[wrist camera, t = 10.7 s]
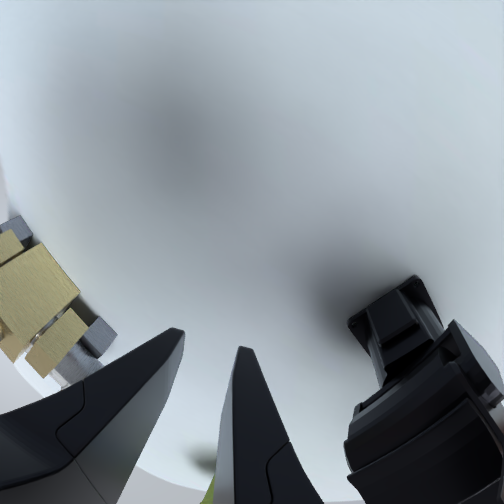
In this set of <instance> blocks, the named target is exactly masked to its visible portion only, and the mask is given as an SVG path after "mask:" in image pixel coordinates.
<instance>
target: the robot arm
mask: <svg viewBox="0 0 504 504" xmlns="http://www.w3.org/2000/svg"><path fill="white" fill-rule="evenodd" d="M417 281H418V282H417ZM415 282H417V284H416V285H414V283H415ZM352 323H356V324H355V325H352ZM347 325H348V328H349V329H350V331H351V332H352V333H353V335H354V336H355V337H356V339H357V340H358V341H359V343H360V344H361V345H362V347H363V348H364V349H365V350H366V352H367V353H368V354H369V356H370V357H371V358H372V361H373V365H374V368H375V371H376V375H377V379H378V382H379V386H380V390H379V391H377V392H376V393H375V394H374V395H372V396H371V397H370V398H368V399H367V400H366V401H364V402H361V403H359V404H358V405H357V406H355V409H354V414H353V419H352V421H351V423H350V425H349V431H348V439H347V440H345V441H344V452H345V457H346V460H347V464H348V467H349V469H350V471H351V472H352V473H351V474H349V475H348V476H347V480H348V481H349V482H350V483H351V484H352V485H353V486H354V487H355V488H356V489H357V490H358V492H359V493H360V495H361V496H362V498H363V499H364V501H365V503H366V504H504V407H503V405H502V404H501V401H502V400H503V399H504V384H503V381H502V378H501V375H500V372H499V369H498V367H497V366H496V364H495V363H494V362H493V360H492V359H491V357H490V356H489V355H488V353H487V352H486V351H485V349H484V348H483V347H482V346H481V345H480V344H479V343H478V342H477V341H476V340H475V339H474V338H473V337H472V336H471V335H470V334H469V333H468V332H467V331H466V330H465V329H464V328H463V327H462V326H461V325H460V324H459V323H458V322H457V321H456V320H454V319H453V320H452V322H451V323H450V324H449V325H448V328H447V329H446V330H444V327H443V325H442V322H441V320H440V318H439V316H438V313H437V311H436V309H435V307H434V305H433V302H432V300H431V298H430V296H429V294H428V292H427V290H426V288H425V286H424V284H423V282H422V280H421V279H420V278H419V277H418V276H414V277H412V278H410V279H409V280H408V281H406V282H405V283H403V284H402V285H400V286H399V287H397V288H396V289H394V290H392V291H391V292H389V293H388V294H386V295H385V296H383V297H382V298H380V299H379V300H377V301H376V302H374V303H373V304H371V305H369V306H368V307H367V308H366V309H364V310H363V311H361V312H359V313H358V314H356V315H354V316H353V317H351V318H350V319H349V320H348V322H347ZM184 341H185V332H184V331H183V330H180V329H177V328H169V329H168V330H166V331H164V332H163V333H161V334H159V335H157V336H156V337H154V338H152V339H151V340H149V341H147V342H146V343H144V344H142V345H140V346H139V347H137V348H135V349H134V350H132V351H130V352H129V353H127V354H125V355H123V356H122V357H120V358H118V359H116V360H115V361H113V362H111V363H110V364H108V365H106V366H104V367H103V368H101V369H99V370H97V371H96V372H94V373H92V374H90V375H89V376H87V377H85V378H84V379H83V380H79V381H78V382H76V383H74V384H72V385H71V386H69V387H67V388H65V389H63V390H61V391H59V392H57V393H55V394H53V395H50V396H48V397H46V398H43V399H41V400H39V401H36V402H34V403H31V404H29V405H26V406H23V407H21V408H18V409H15V410H13V411H10V412H7V413H4V414H1V415H0V504H116V503H117V501H118V499H119V497H120V495H121V493H122V491H123V489H124V487H125V485H126V483H127V481H128V479H129V477H130V475H131V473H132V470H133V468H134V466H135V464H136V462H137V460H138V458H139V456H140V454H141V452H142V450H143V448H144V446H145V444H146V442H147V440H148V438H149V436H150V434H151V432H152V430H153V428H154V426H155V424H156V422H157V420H158V418H159V416H160V414H161V412H162V410H163V408H164V406H165V404H166V402H167V399H168V397H169V394H170V391H171V388H172V385H173V382H174V379H175V377H176V374H177V371H178V368H179V365H180V362H181V359H182V356H183V351H184ZM213 504H324V502H323V501H322V499H321V498H320V496H319V495H318V493H317V492H316V490H315V488H314V487H313V485H312V484H311V482H310V480H309V479H308V477H307V475H306V473H305V472H304V470H303V468H302V466H301V464H300V462H299V460H298V458H297V455H296V453H295V451H294V449H293V446H292V444H291V442H289V437H288V435H287V432H286V430H285V428H284V425H283V423H282V420H281V418H280V415H279V413H278V411H277V408H276V406H275V403H274V401H273V398H272V396H271V393H270V391H269V388H268V386H267V383H266V381H265V378H264V376H263V373H262V371H261V368H260V366H259V363H258V361H257V358H256V355H255V353H254V351H253V349H251V348H247V347H243V346H239V347H238V350H237V354H236V357H235V361H234V365H233V369H232V373H231V377H230V381H229V385H228V389H227V393H226V397H225V401H224V405H223V409H222V414H221V421H220V431H219V441H218V451H217V462H216V472H215V483H214V494H213Z"/></svg>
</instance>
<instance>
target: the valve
mask: <svg viewBox="0 0 504 504" xmlns="http://www.w3.org/2000/svg"><path fill="white" fill-rule="evenodd" d="M32 235H33V233H32V232H31V231H30V229H29V228H28V226H27V225H26V223H25V222H24V220H23V219H22V217H21V216H18V217H16V218H14V219H12V220H9V221H7V222H5V223H3V224H1V225H0V348H1V349H2V351H3V352H4V353H5V354H6V355H7V357H8V358H9V359H10V360H11V361H12V362H13V364H14V363H15V361H16V360H17V359H18V358H19V357H20V356H21V355H22V354H23V353H24V352H25V351H26V350H27V349H28V348H29V347H30V346H31V345H33V346H32V348H31V349H30V351H29V352H28V354H27V355H26V357H25V360H26V361H27V362H28V363H29V364H30V365H31V366H32V367H33V368H34V369H35V370H36V371H37V373H38V374H39V375H40V376H41V377H42V378H43V379H44V378H45V377H46V376H47V375H48V374H49V373H50V372H51V371H52V370H53V369H55V370H56V371H57V372H58V373H59V374H60V375H61V376H62V377H63V378H64V379H65V380H66V381H67V382H68V383H69V384H70V385H72V384H74V383H76V382H78V381H79V380H83V379H84V378H85V377H87V376H89V375H90V374H92V373H94V372H96V371H97V370H99V369H101V368H103V367H104V365H103V364H102V363H101V362H100V361H98V360H97V359H98V358H99V357H101V356H102V355H103V354H104V352H105V351H106V350H107V348H108V347H109V346H110V344H111V343H112V342H113V340H114V339H115V338H116V336H117V334H116V333H115V332H114V331H113V330H112V329H111V328H110V327H109V326H108V325H107V323H106V322H105V321H104V320H103V319H102V318H101V317H100V316H99V317H98V318H97V319H96V320H95V321H94V322H93V323H92V324H91V325H90V326H89V327H88V326H87V325H86V324H85V323H84V322H83V321H82V320H81V319H80V317H79V316H78V315H77V314H76V313H75V312H74V311H73V310H72V309H71V308H69V309H68V310H67V311H66V312H65V313H64V311H65V310H66V309H67V308H68V307H69V305H70V304H71V303H72V302H73V300H74V299H75V298H76V297H77V296H78V294H79V293H80V291H79V290H78V288H77V287H76V286H75V285H74V284H73V282H72V281H71V280H70V279H69V278H68V276H67V275H66V274H65V273H64V271H63V270H62V269H61V268H60V266H59V265H58V264H57V263H56V261H55V260H54V259H53V257H52V256H51V255H50V253H49V252H48V251H47V249H46V248H45V247H44V245H43V244H42V243H40V244H38V245H36V246H35V247H33V248H31V249H30V250H28V251H26V252H25V253H24V251H25V249H26V247H27V245H28V243H29V241H30V239H31V237H32ZM63 313H64V314H63ZM62 314H63V315H62ZM61 315H62V316H61ZM60 316H61V317H60ZM59 317H60V318H59ZM58 318H59V319H58Z"/></svg>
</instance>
